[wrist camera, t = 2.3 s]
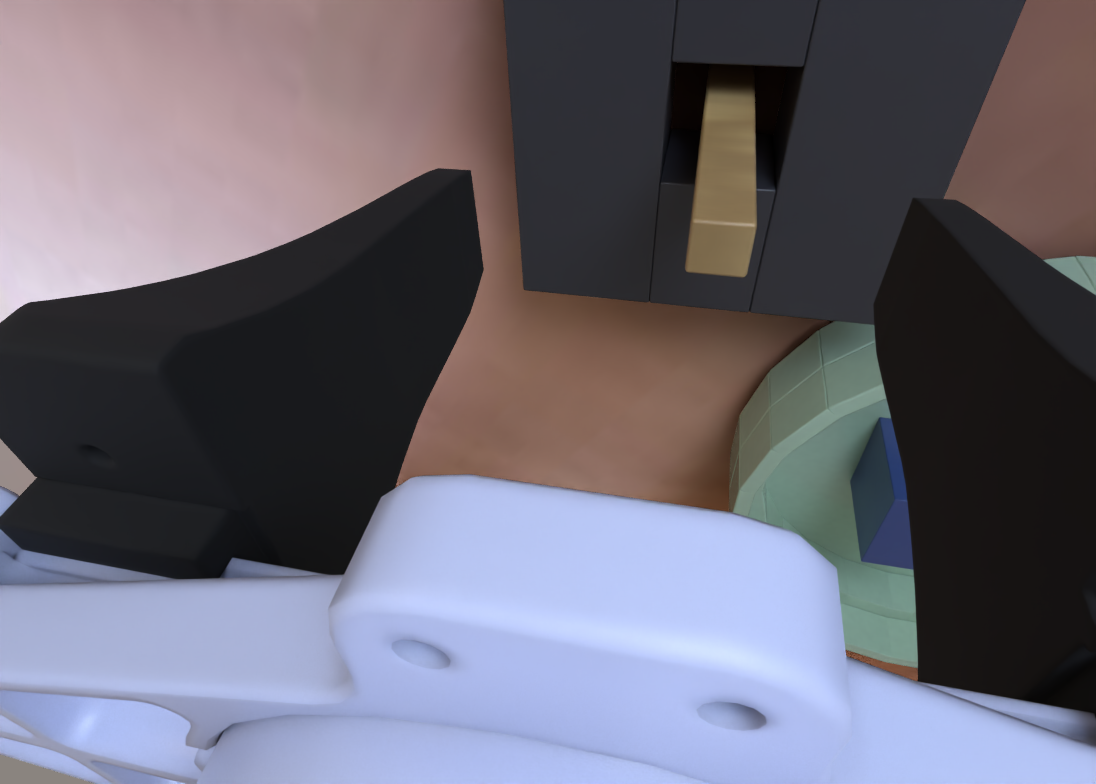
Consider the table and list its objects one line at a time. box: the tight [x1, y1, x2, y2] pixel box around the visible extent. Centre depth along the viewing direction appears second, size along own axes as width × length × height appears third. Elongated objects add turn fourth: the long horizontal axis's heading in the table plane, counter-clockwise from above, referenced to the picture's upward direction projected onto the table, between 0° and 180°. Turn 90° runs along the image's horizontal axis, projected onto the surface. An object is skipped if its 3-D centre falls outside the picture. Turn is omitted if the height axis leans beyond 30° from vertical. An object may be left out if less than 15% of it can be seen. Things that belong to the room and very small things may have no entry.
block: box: [850, 417, 913, 570], centre depth 25 cm, size 4×4×4 cm
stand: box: [503, 0, 1026, 325], centre depth 18 cm, size 11×11×4 cm
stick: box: [685, 64, 757, 277], centre depth 16 cm, size 1×1×9 cm
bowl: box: [729, 256, 1096, 668], centre depth 25 cm, size 19×19×4 cm
